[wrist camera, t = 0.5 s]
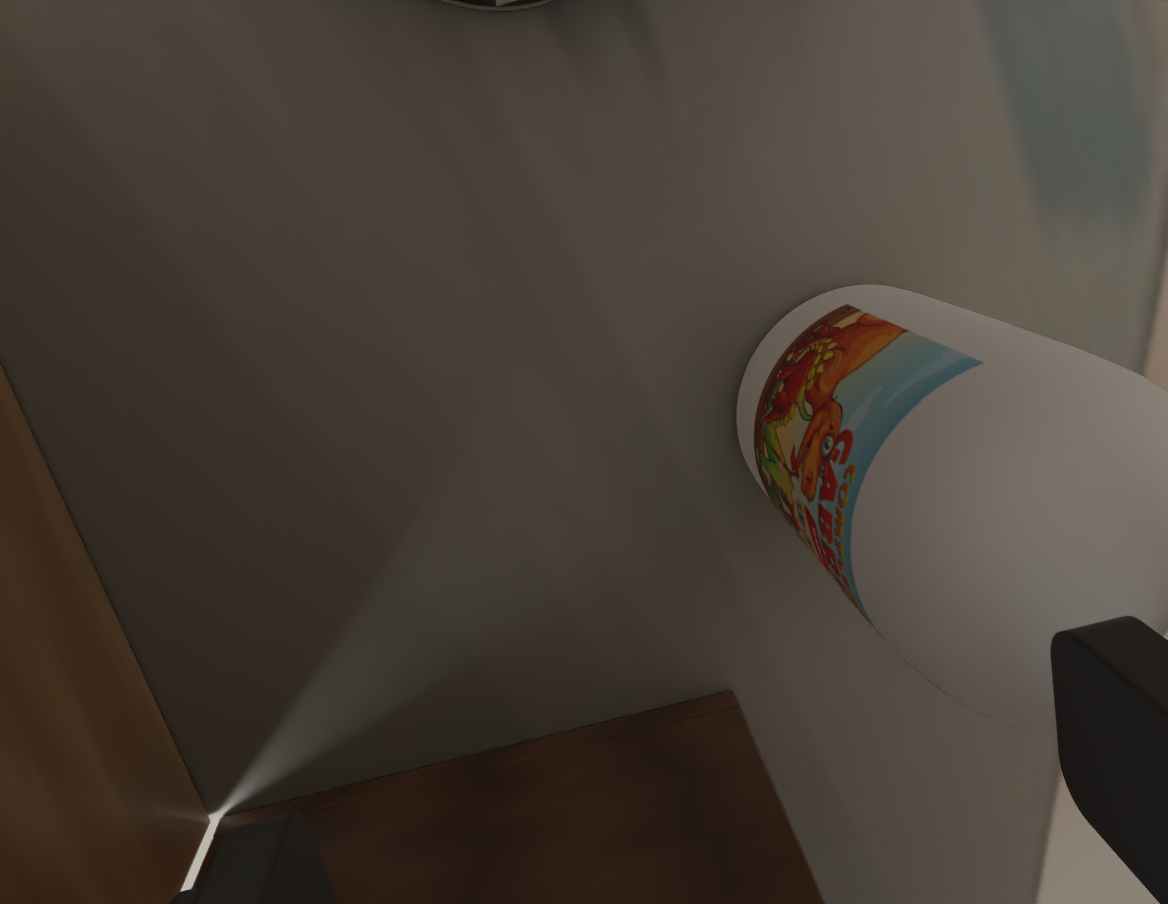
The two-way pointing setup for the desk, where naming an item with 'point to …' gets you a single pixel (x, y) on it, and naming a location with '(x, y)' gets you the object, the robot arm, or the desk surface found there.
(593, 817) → the cabinet
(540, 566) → the desk surface
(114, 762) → the cabinet door
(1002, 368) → the milk bottle
